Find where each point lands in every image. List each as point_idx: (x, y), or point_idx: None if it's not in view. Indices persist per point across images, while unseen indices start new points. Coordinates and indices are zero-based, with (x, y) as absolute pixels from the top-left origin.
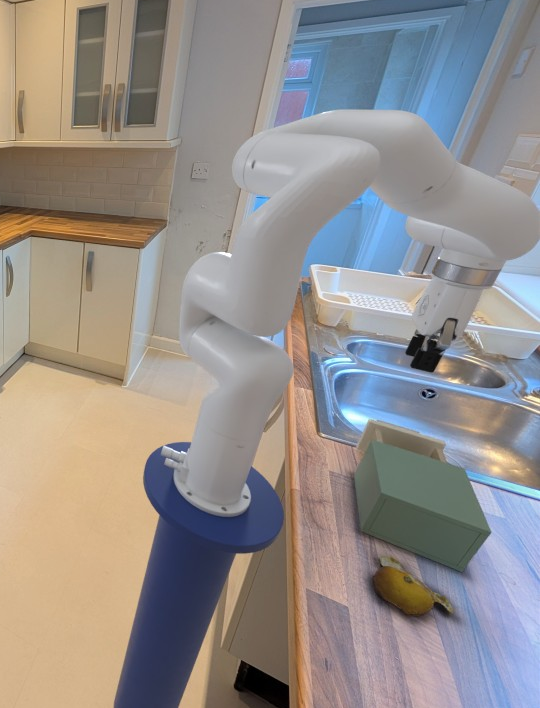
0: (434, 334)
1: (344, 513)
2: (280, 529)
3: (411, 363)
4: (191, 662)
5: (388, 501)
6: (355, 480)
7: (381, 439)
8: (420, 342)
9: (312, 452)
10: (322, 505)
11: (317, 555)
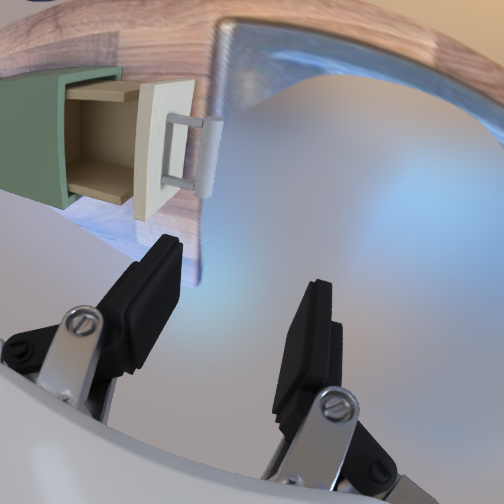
0: (275, 452)
1: (51, 53)
2: (33, 1)
3: (159, 242)
4: None
5: None
6: (104, 66)
7: (90, 97)
8: (292, 372)
9: (155, 6)
10: (53, 29)
11: (5, 36)
